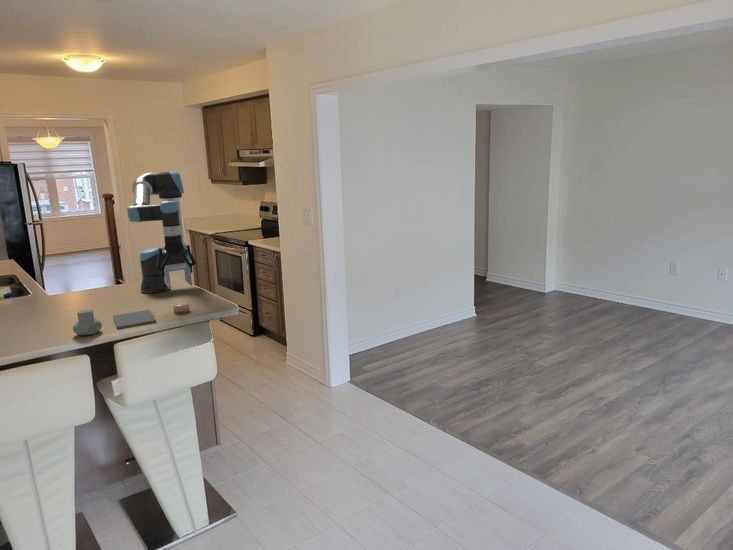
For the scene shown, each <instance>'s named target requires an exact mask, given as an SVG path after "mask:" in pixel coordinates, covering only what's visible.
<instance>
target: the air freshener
mask: <svg viewBox="0 0 733 550" xmlns="http://www.w3.org/2000/svg"><path fill="white" fill-rule="evenodd" d="M76 314H77V320H78V321H77V322H75V324H73V327H72V330H73V333H74V334H75V335H76V334H77V335H79V336H86V335H87V336H93V335H95V334H97V333H98V332H99V331H100V330H101V329H102V328H103V324H102V322H101V321H100V320H99V319H97V318H95V316H94V315H95V314H94V310H92V309H91V308H87V309H82V310H79V311H77V312H76Z"/></svg>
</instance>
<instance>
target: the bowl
mask: <svg viewBox="0 0 733 550" xmlns="http://www.w3.org/2000/svg"><path fill="white" fill-rule="evenodd" d="M172 307H173V312H174V313H175V314H185V313H188V311H190V304H189V303H188V302H178V303H175V304H174V305H172Z"/></svg>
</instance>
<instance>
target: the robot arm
mask: <svg viewBox="0 0 733 550" xmlns="http://www.w3.org/2000/svg"><path fill="white" fill-rule="evenodd" d="M131 187H132V188H131V190H132V193H133V200H132V201H133V203H132V205H130V206H127V218H128V221H129V222H130V223H143V222H155V221H156V222H157V221H161V222H162V231H163V235H164V236H163V238H164V239H163V240H164V247H152V248H151V247H150V248H148V249H144V250H142V251H141V252H140V253H139V262H140V269H141V278H142V279H141V283H140V293H142V294H158V293H162V292H163V291H164V292H167V291H168V290H170V289H169V287H168V286H167V285H166V284H168V283H167V275H166V270H165V269H164V268H165V266H166V265H173V264H181V263H185V264H187V265H188V266H189V267H190V271H191V274H192V273H193V266H195V265H196V263H197V262H196V261H195V258H194V256H193V253H192V249H191V246H190V245H189V244H187V243H186V242H185V238H184V228H183V220H182V212H181V211H182V210H181V202H180V200H181V199H182V197H183V196H182V195H183V194H184V193H185V190H184V186H183V182H182V178H181V174H180V172H178V171H159V172H157V171H156V172H147V173H143V174H142V175H140V176H139V177H137V178H136V179H135V180H134V181H133V183H132V186H131ZM157 195H158V199H160V200H161V202H160V203H159V204H151V196H157ZM166 290H167V291H166ZM164 292H163V293H164Z"/></svg>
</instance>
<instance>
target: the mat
mask: <svg viewBox="0 0 733 550" xmlns="http://www.w3.org/2000/svg"><path fill="white" fill-rule="evenodd" d="M112 318H114V319H113V321H114V324H115V327H116V329H117V330H120V329H126V328H132V327H136V326H143V325H147V324H148V325H149V324H153V323H157V319H156V318H155V316H154V315H153V313H152V311H151V310H150V309H144V310H139V311H132V312H126V313H121V314H114V315H112Z"/></svg>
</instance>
